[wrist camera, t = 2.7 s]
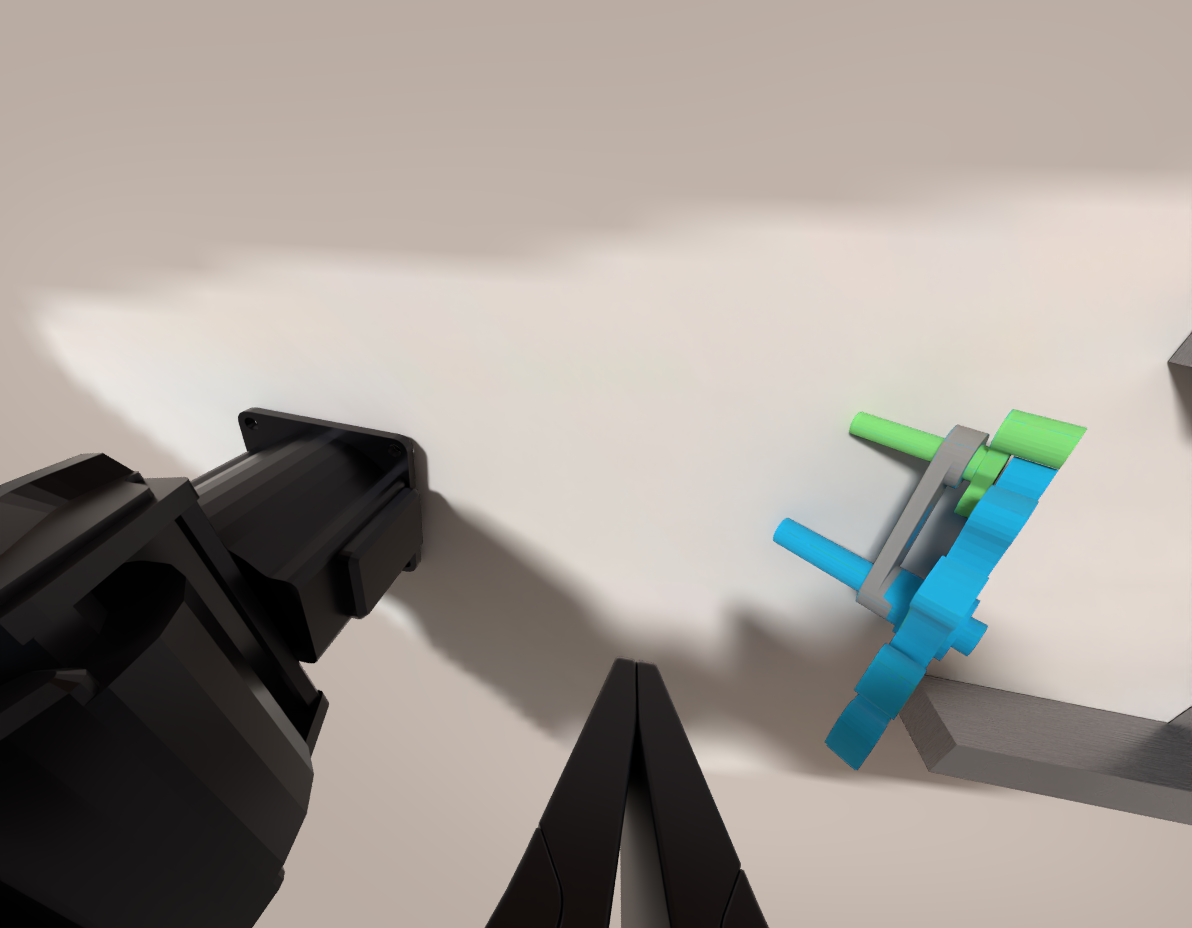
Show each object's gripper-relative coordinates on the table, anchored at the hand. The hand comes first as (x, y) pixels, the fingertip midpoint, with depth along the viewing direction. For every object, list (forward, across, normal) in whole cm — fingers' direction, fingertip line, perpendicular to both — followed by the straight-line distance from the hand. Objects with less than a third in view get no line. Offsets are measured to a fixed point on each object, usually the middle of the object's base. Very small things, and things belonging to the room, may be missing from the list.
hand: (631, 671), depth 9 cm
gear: (+8, -9, 0) cm, 12 cm away
